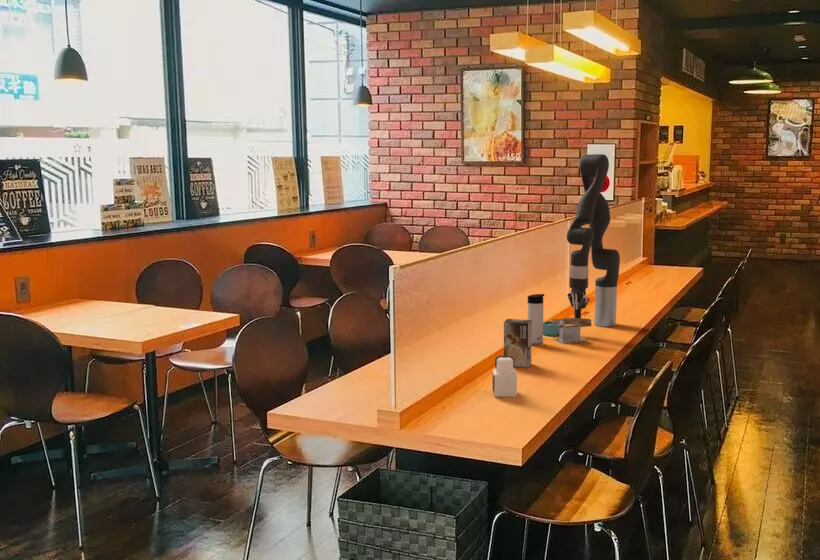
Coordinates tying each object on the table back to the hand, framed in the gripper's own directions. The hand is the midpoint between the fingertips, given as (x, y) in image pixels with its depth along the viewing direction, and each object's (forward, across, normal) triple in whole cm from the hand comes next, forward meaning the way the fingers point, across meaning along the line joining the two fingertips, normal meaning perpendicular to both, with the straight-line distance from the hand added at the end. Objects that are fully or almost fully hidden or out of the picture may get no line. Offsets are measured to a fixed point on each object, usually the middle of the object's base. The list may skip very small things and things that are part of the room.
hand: (577, 318), depth 351 cm
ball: (+5, -8, -8) cm, 13 cm away
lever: (+1, +8, -5) cm, 9 cm away
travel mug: (+8, +6, -24) cm, 26 cm away
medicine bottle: (+7, +62, -68) cm, 92 cm away
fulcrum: (+7, +8, -8) cm, 13 cm away
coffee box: (+7, +32, -46) cm, 56 cm away
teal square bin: (+7, -6, -8) cm, 13 cm away
